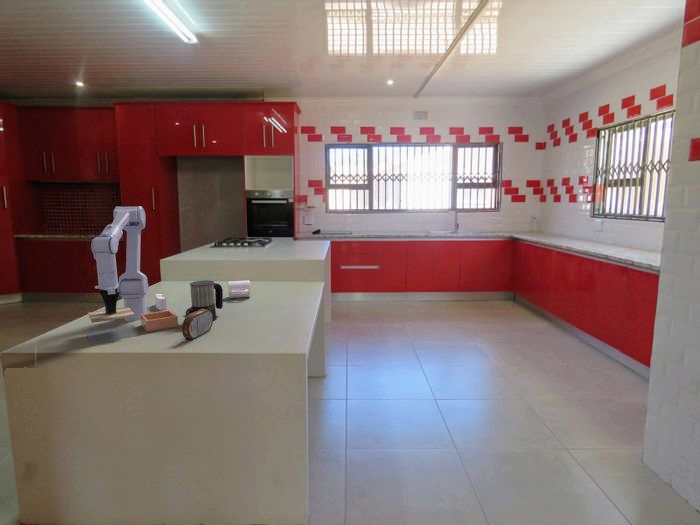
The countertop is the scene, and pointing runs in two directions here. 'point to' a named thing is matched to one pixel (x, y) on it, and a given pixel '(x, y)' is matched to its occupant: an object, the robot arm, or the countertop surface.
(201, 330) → the tin
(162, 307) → the napkin holder
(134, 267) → the robot arm
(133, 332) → the slate mat
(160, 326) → the terracotta dish
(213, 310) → the milk frother
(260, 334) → the countertop surface
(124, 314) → the birch lid
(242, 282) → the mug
